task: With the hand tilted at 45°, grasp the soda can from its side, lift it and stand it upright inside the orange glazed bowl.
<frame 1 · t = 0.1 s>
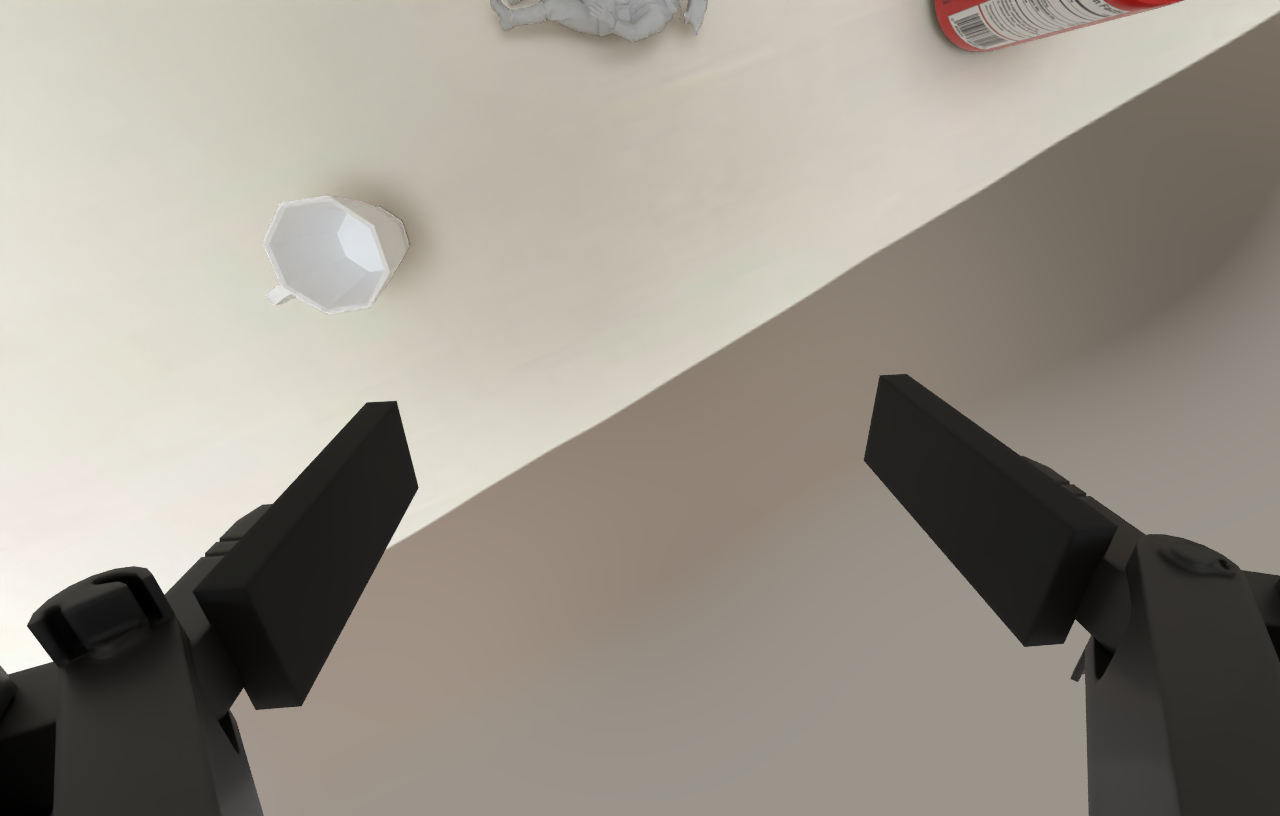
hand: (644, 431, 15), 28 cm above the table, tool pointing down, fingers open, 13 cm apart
cup: (363, 248, 38), on the table
soldier figure: (598, 8, 33), on the table
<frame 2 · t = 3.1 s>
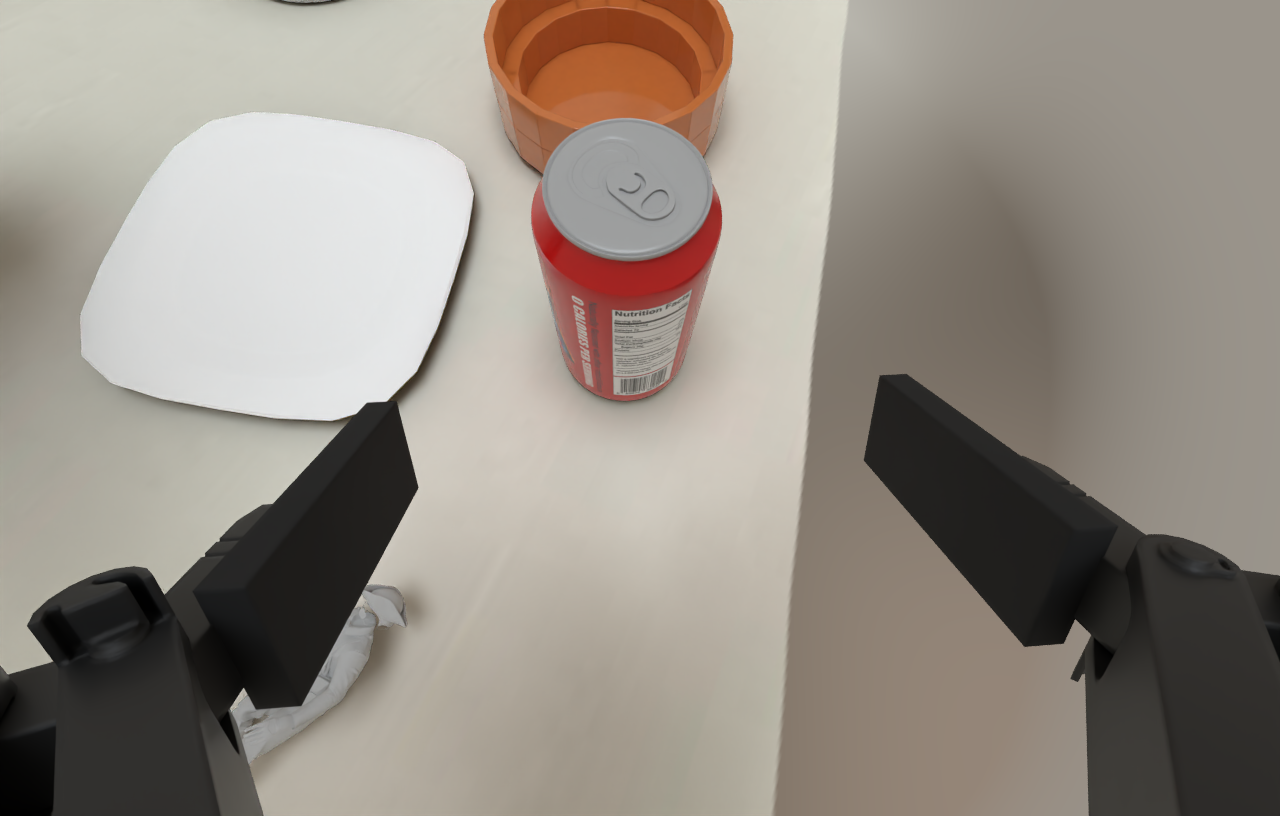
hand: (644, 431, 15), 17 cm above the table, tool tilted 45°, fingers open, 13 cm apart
bowl: (611, 111, 40), on the table
soda can: (623, 350, 34), on the table
soldier figure: (318, 682, 28), on the table
plate: (302, 265, 35), on the table
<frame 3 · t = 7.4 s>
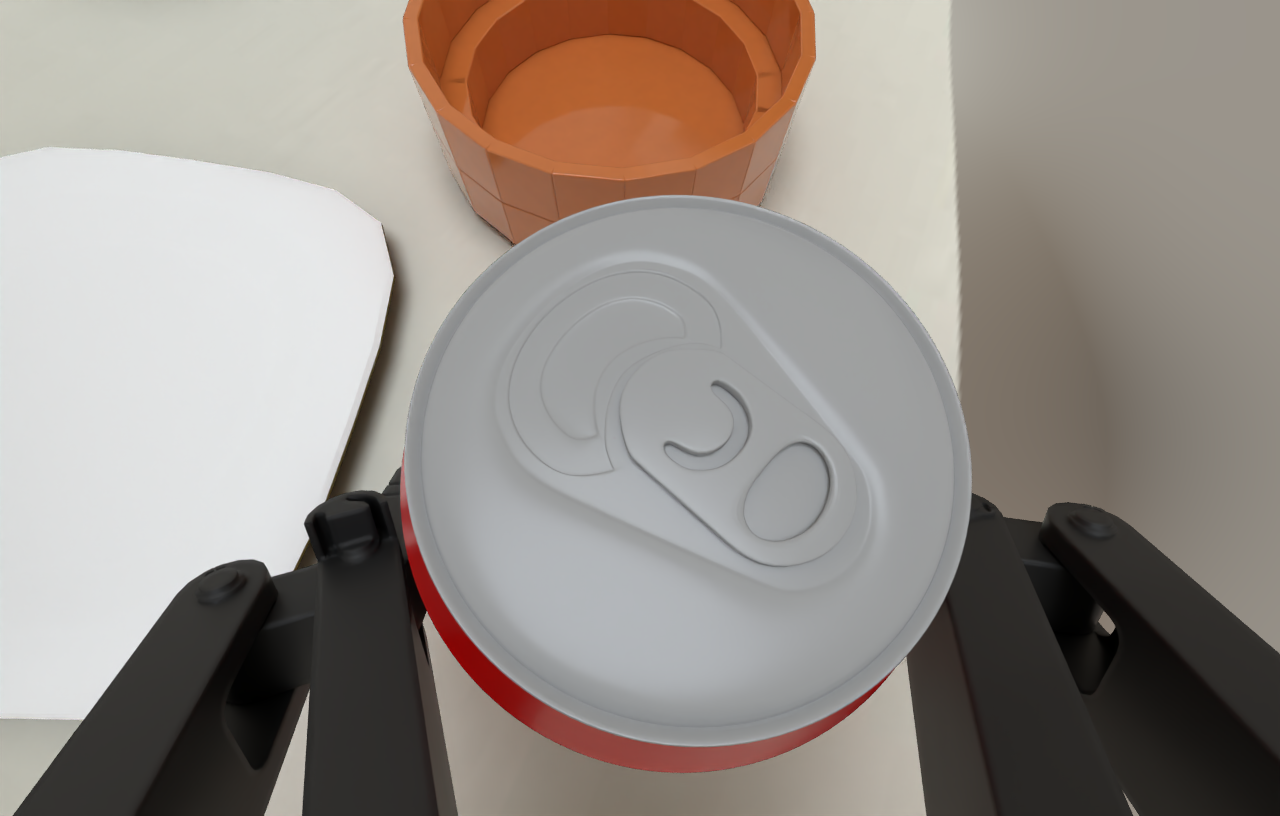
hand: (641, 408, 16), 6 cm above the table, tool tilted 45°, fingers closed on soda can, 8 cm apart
bowl: (614, 137, 27), on the table
soda can: (641, 540, 20), on the table, touching gripper
plate: (112, 397, 21), on the table
when the fingers open (6 cm above the table, at t = 16.4 s): soda can stays where it is, resting on bowl.
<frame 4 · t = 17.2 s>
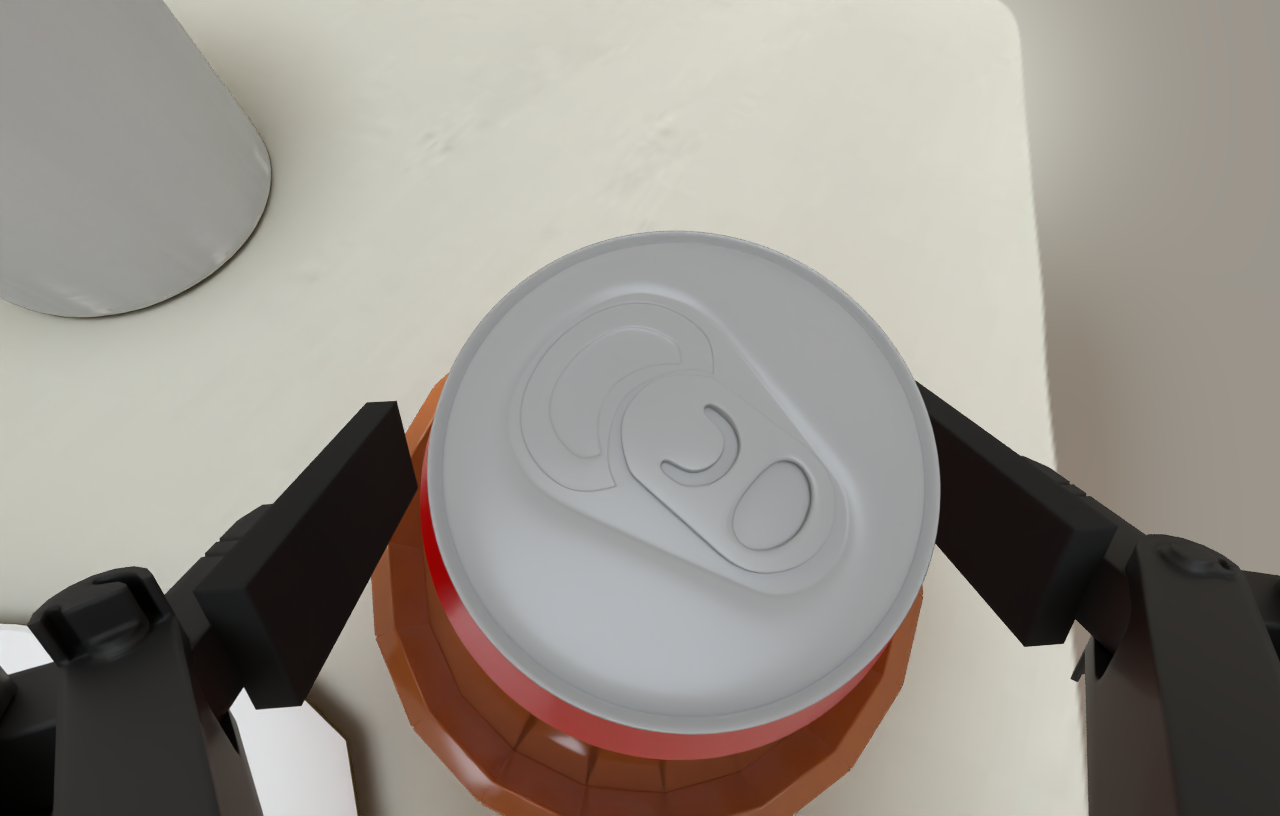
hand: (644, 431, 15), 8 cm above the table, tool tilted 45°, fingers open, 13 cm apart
bowl: (642, 542, 21), on the table
soda can: (643, 543, 21), resting on bowl
utensil holder: (137, 197, 26), on the table
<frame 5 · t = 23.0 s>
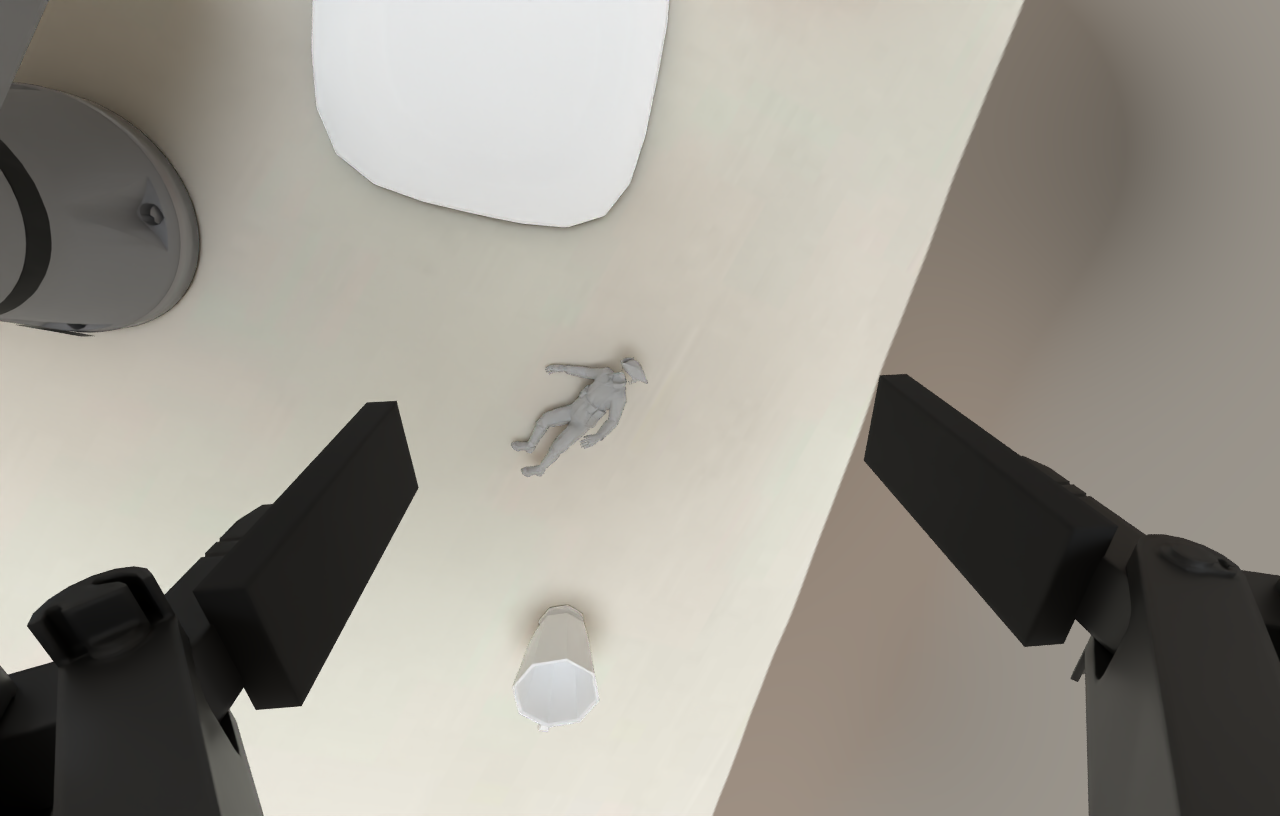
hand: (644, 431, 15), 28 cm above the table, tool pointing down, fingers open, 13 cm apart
cup: (558, 635, 50), on the table
soldier figure: (577, 406, 43), on the table
plate: (496, 46, 35), on the table
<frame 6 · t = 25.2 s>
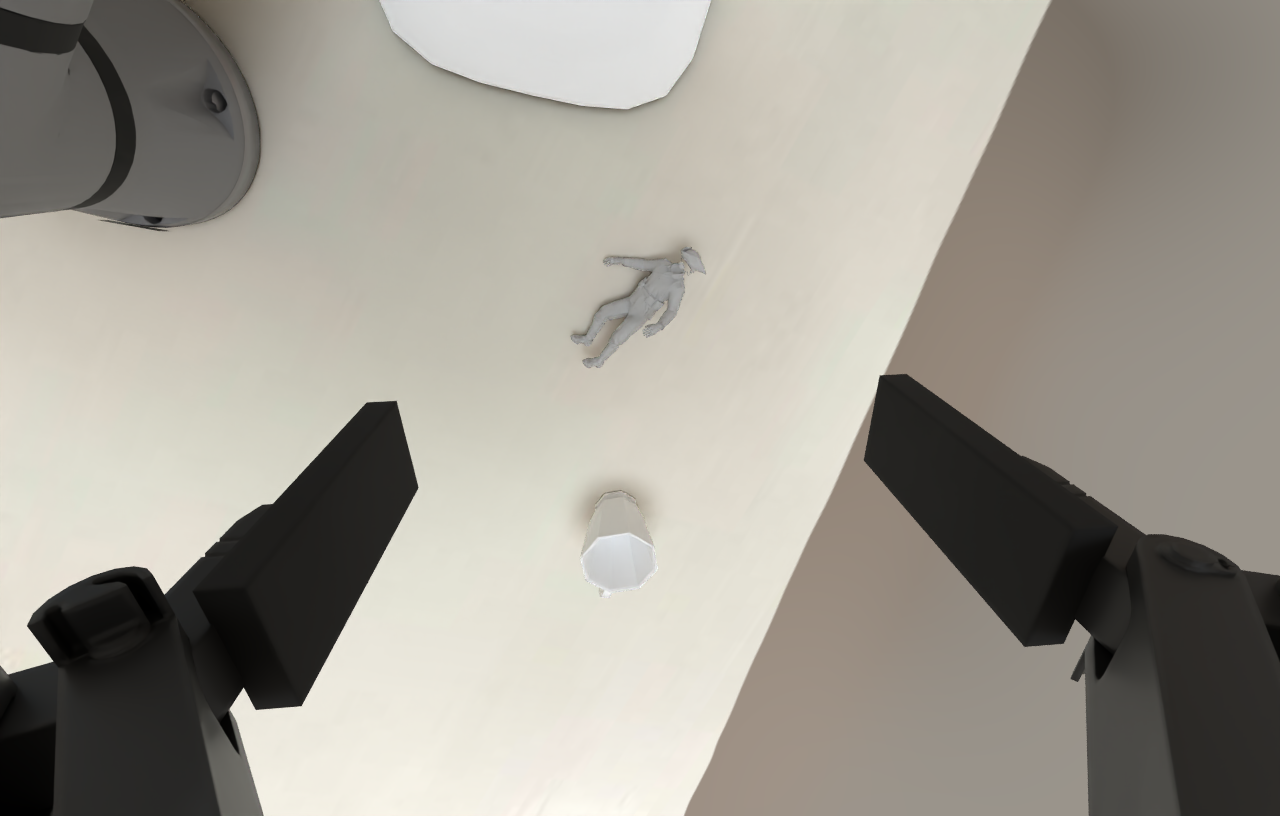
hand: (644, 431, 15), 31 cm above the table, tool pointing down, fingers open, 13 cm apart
cup: (612, 518, 54), on the table
soldier figure: (633, 300, 44), on the table
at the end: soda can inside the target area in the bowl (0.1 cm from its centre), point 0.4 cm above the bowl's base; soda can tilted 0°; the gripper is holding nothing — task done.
